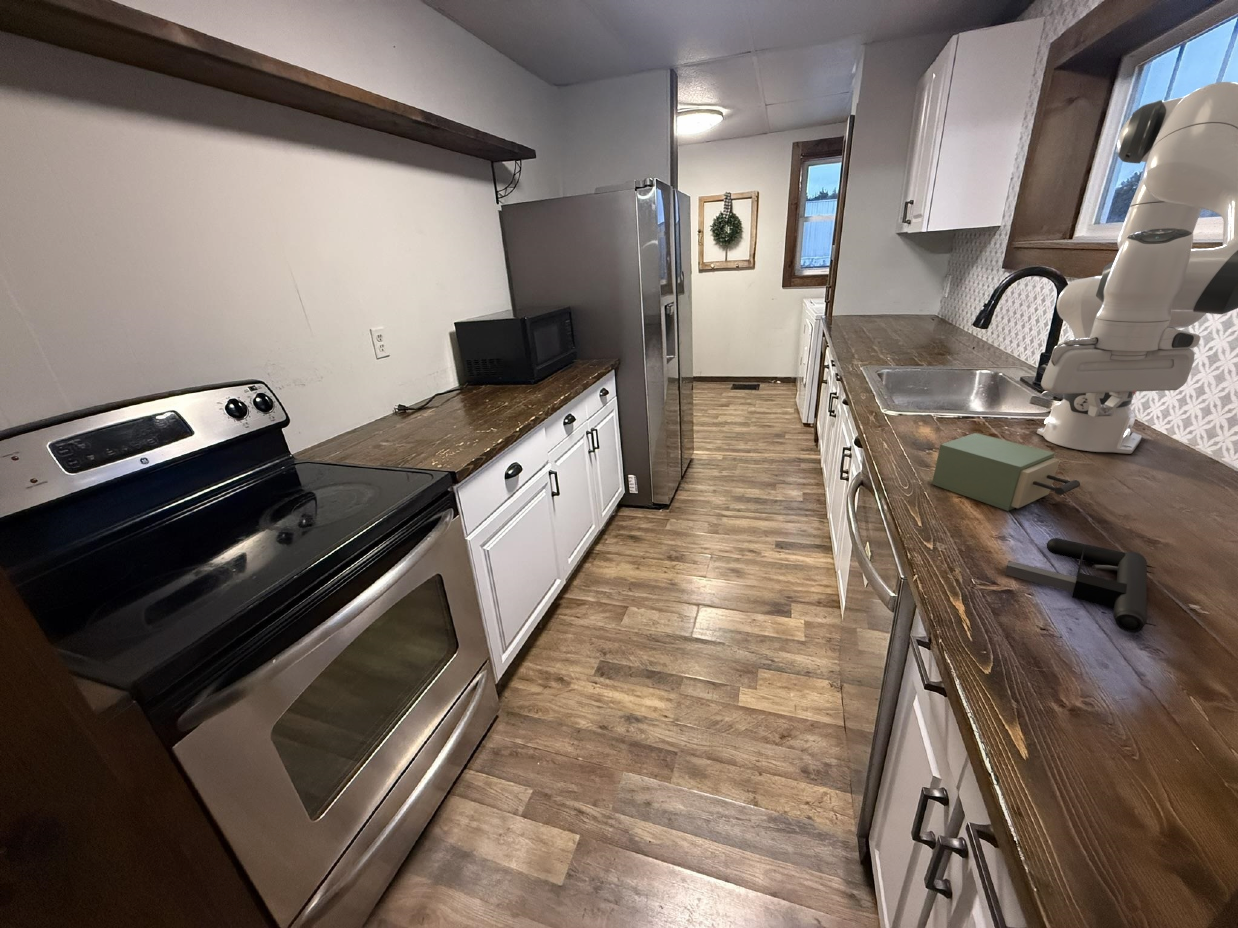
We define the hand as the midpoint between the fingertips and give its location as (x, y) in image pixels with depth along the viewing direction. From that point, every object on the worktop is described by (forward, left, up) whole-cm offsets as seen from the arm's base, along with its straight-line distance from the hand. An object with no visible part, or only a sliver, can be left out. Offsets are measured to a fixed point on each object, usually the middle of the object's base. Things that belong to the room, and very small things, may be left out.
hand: (1099, 415), depth 88 cm
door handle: (+27, +12, -18) cm, 35 cm away
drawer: (+5, -8, -17) cm, 20 cm away
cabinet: (+5, -12, -18) cm, 22 cm away
